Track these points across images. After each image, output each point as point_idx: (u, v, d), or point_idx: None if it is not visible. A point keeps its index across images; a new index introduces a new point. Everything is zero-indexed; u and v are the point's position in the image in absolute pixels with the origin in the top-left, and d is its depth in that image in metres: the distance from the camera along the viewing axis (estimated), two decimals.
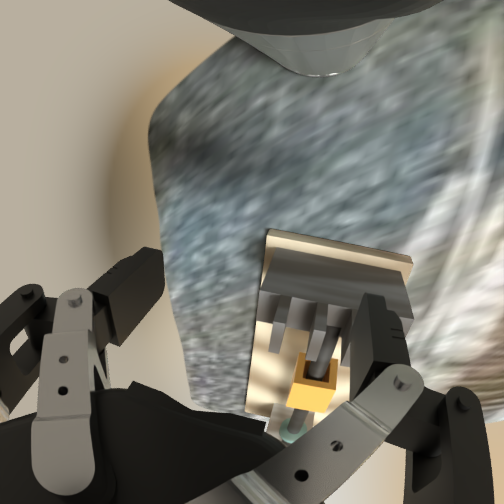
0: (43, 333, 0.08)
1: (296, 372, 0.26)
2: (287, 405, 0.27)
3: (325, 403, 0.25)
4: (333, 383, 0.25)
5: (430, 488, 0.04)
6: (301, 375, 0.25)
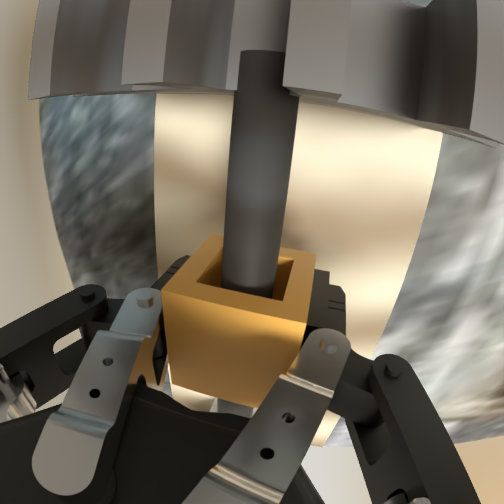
0: None
1: (183, 268, 0.09)
2: (174, 381, 0.10)
3: None
4: (300, 305, 0.08)
5: (386, 459, 0.05)
6: (195, 275, 0.09)
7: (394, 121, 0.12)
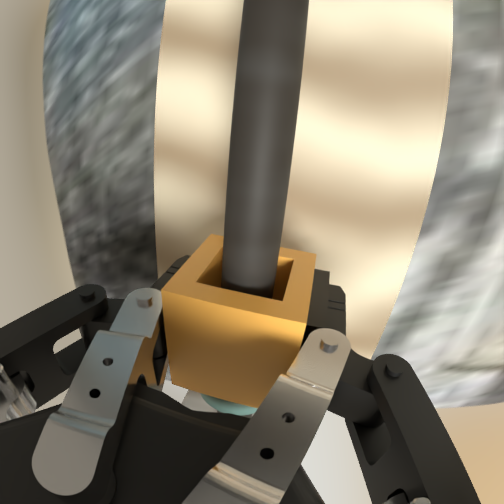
0: None
1: (183, 268, 0.09)
2: (174, 381, 0.10)
3: None
4: (300, 305, 0.08)
5: (386, 459, 0.05)
6: (195, 275, 0.09)
7: None
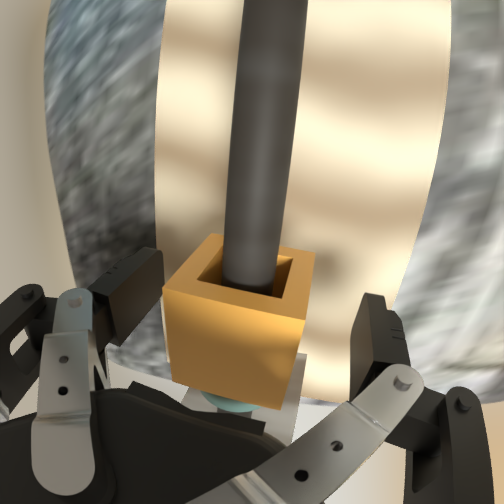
0: (43, 333, 0.08)
1: (183, 266, 0.09)
2: (175, 378, 0.10)
3: (277, 376, 0.08)
4: (299, 302, 0.08)
5: (430, 488, 0.04)
6: (195, 273, 0.09)
7: None
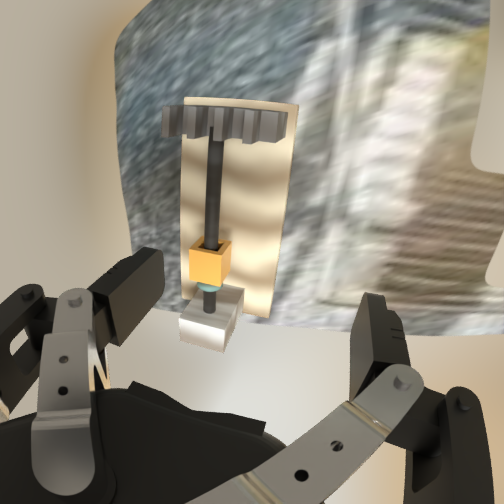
0: (43, 333, 0.08)
1: (194, 244, 0.35)
2: (190, 278, 0.35)
3: (217, 273, 0.34)
4: (221, 252, 0.34)
5: (430, 488, 0.04)
6: (197, 246, 0.34)
7: None
